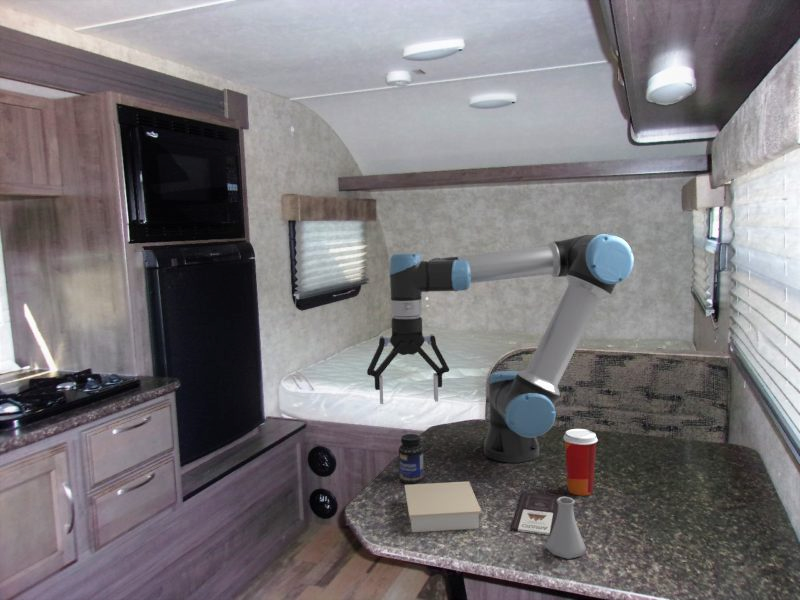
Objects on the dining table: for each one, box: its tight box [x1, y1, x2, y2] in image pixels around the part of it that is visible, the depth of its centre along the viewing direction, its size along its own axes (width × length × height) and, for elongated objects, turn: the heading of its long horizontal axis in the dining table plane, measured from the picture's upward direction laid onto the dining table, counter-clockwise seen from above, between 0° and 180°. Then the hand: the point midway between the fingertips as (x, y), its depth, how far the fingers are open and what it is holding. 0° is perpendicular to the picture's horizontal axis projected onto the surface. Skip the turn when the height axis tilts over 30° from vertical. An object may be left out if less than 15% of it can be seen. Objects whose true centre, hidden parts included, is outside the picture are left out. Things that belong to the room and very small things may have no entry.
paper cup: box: [563, 428, 599, 497], centre depth 139 cm, size 8×8×14 cm
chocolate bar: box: [511, 491, 563, 536], centre depth 130 cm, size 9×1×18 cm
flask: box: [545, 495, 587, 560], centre depth 114 cm, size 7×7×10 cm
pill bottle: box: [398, 433, 424, 484], centre depth 149 cm, size 6×6×11 cm
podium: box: [404, 481, 482, 533], centre depth 130 cm, size 15×15×4 cm
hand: (408, 401), depth 148 cm, fingers open, 13 cm apart
